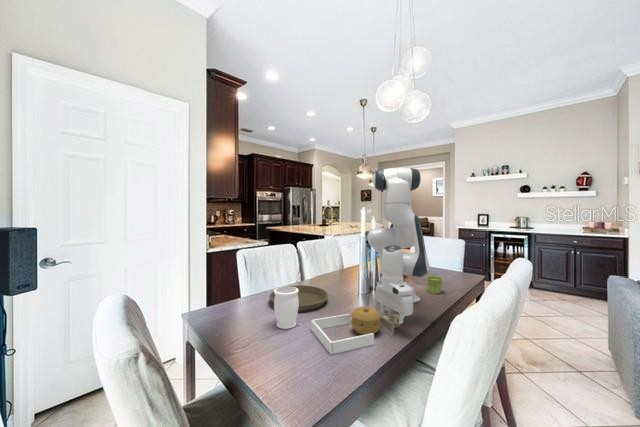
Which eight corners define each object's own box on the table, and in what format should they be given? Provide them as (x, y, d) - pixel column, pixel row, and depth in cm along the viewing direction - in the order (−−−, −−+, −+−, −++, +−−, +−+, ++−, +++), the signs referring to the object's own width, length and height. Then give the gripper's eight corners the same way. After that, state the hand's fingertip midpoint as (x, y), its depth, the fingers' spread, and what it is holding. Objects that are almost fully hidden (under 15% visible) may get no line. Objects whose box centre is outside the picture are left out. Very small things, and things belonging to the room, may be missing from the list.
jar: (291, 332, 105) (291, 295, 105) (269, 328, 109) (269, 292, 108) (302, 321, 115) (302, 287, 115) (281, 318, 118) (281, 285, 118)
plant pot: (424, 293, 153) (424, 278, 153) (427, 289, 161) (428, 274, 160) (441, 296, 148) (441, 280, 147) (444, 291, 155) (444, 277, 155)
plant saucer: (338, 308, 130) (338, 299, 130) (276, 318, 119) (276, 308, 119) (316, 290, 159) (316, 282, 159) (264, 296, 148) (264, 288, 147)
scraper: (388, 319, 117) (388, 310, 117) (407, 331, 106) (407, 320, 105) (374, 322, 114) (374, 312, 114) (391, 335, 103) (391, 324, 103)
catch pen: (348, 322, 113) (348, 313, 113) (373, 344, 95) (374, 333, 95) (311, 329, 107) (311, 320, 107) (330, 354, 89) (330, 343, 89)
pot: (348, 325, 111) (348, 302, 111) (375, 324, 112) (376, 301, 111) (354, 339, 99) (354, 313, 99) (384, 338, 100) (384, 312, 100)
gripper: (371, 280, 117) (371, 311, 117) (402, 292, 98) (402, 329, 98) (383, 278, 120) (383, 309, 120) (416, 291, 101) (415, 327, 101)
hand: (392, 318), depth 109 cm, fingers open, 8 cm apart
